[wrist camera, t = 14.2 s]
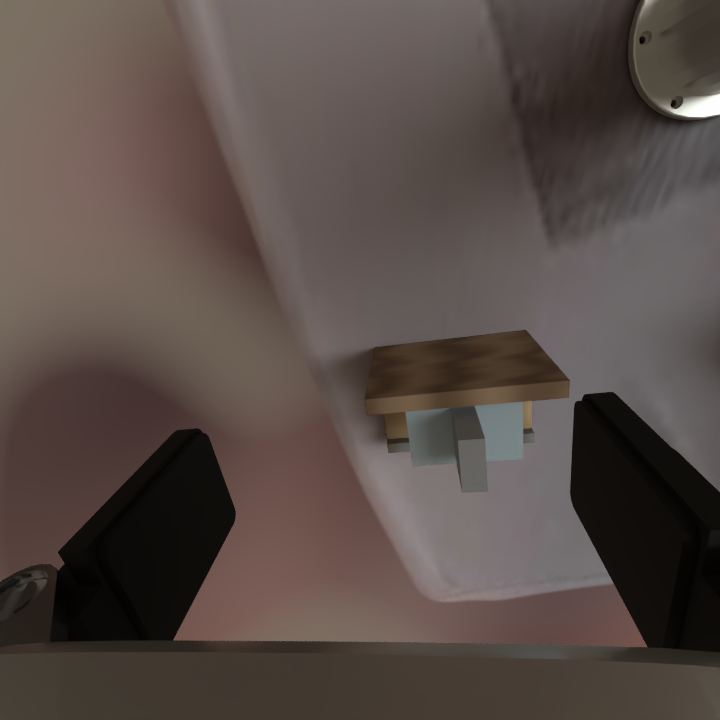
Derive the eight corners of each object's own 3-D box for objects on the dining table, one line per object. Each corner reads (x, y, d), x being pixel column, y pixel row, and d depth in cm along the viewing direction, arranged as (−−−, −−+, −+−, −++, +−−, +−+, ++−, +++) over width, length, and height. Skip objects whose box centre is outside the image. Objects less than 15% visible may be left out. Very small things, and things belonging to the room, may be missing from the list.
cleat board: (525, 330, 41) (569, 380, 30) (526, 427, 45) (564, 502, 34) (375, 347, 44) (364, 399, 33) (389, 438, 48) (384, 510, 37)
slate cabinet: (501, 354, 40) (541, 422, 28) (503, 413, 43) (540, 498, 31) (404, 364, 42) (403, 433, 30) (411, 421, 44) (413, 504, 33)
